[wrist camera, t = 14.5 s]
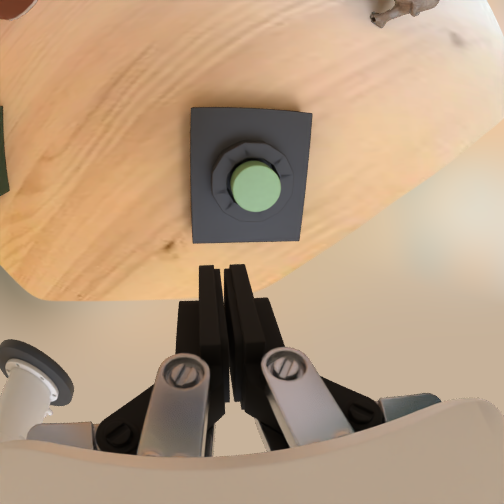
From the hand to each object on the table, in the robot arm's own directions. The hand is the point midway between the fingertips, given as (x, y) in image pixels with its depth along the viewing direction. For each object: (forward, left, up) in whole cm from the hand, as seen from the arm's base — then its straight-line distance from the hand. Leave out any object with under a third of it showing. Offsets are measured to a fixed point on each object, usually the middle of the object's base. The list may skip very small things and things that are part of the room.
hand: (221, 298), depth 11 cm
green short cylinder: (+1, -3, -13) cm, 14 cm away
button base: (+1, -3, -18) cm, 18 cm away
